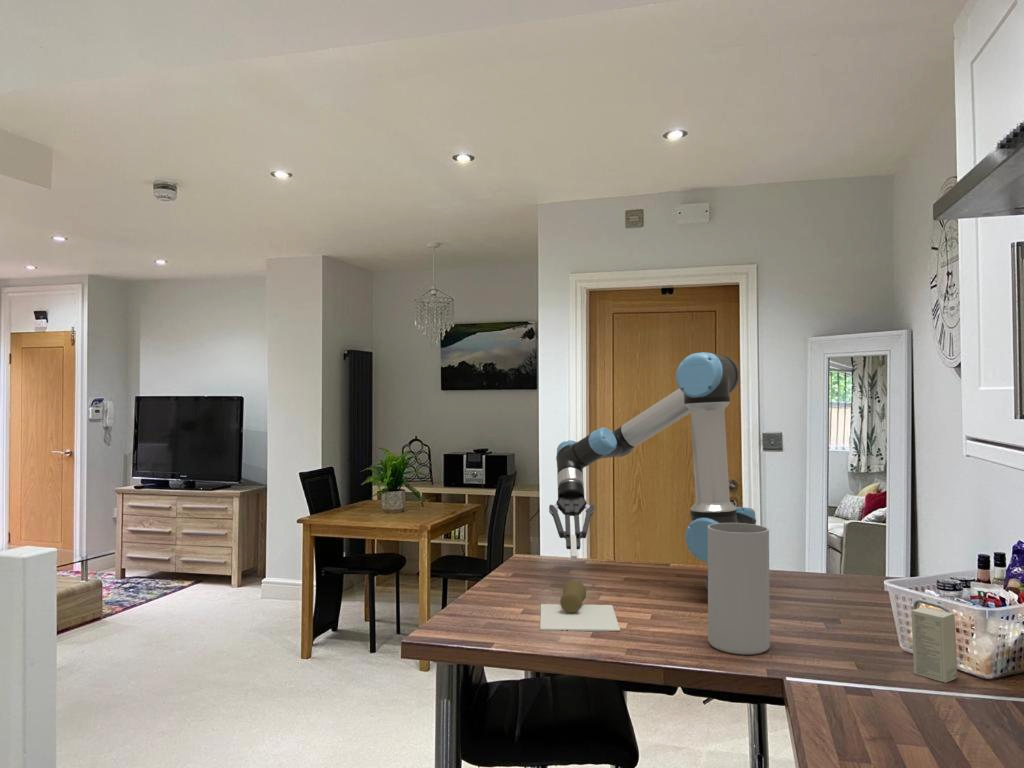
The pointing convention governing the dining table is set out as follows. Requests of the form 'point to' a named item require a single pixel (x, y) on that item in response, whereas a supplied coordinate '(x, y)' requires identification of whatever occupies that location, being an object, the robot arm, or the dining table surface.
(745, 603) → the cylinder vase
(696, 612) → the dining table surface
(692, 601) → the dining table surface
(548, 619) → the felt mat
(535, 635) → the dining table surface
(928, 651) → the skincare box
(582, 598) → the cork
